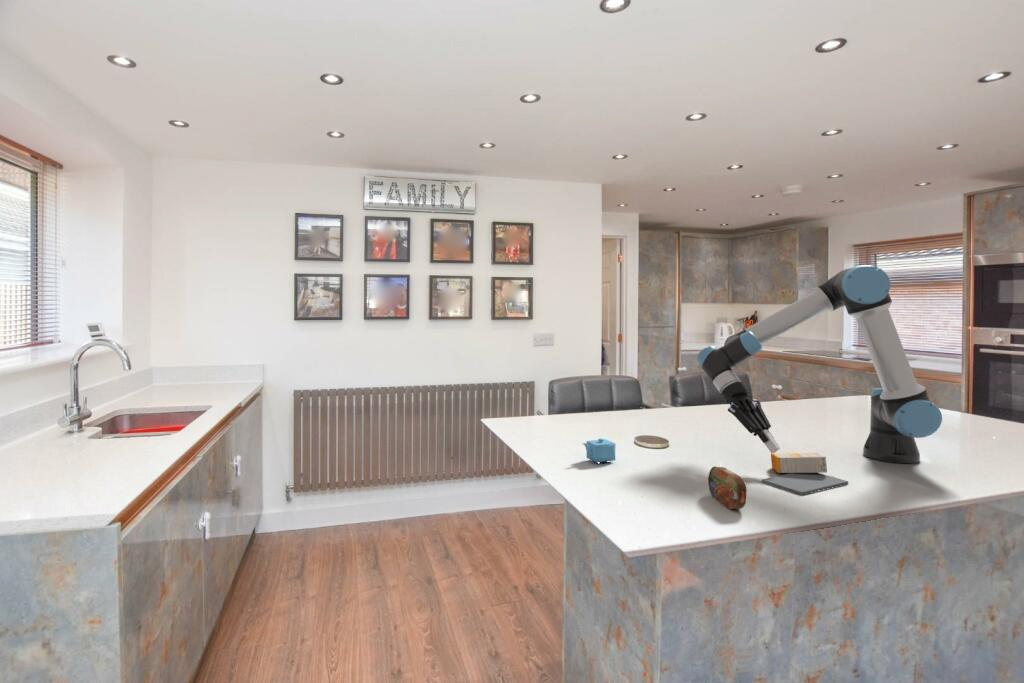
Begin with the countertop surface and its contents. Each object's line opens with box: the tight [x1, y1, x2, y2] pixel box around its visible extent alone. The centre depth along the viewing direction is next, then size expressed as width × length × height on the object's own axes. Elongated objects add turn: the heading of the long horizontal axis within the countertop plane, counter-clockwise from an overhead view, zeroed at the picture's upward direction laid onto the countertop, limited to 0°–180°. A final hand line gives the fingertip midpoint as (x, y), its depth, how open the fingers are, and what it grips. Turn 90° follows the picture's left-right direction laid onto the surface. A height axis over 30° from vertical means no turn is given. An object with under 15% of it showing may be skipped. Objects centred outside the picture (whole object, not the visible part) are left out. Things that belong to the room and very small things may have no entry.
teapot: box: [581, 438, 616, 463], centre depth 168 cm, size 12×6×8 cm, turn 111°
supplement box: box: [770, 452, 828, 474], centre depth 155 cm, size 8×5×13 cm
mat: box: [761, 473, 849, 496], centre depth 146 cm, size 20×12×1 cm, turn 116°
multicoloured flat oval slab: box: [707, 466, 748, 510], centre depth 130 cm, size 15×3×8 cm, turn 5°
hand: (775, 450), depth 154 cm, fingers closed
